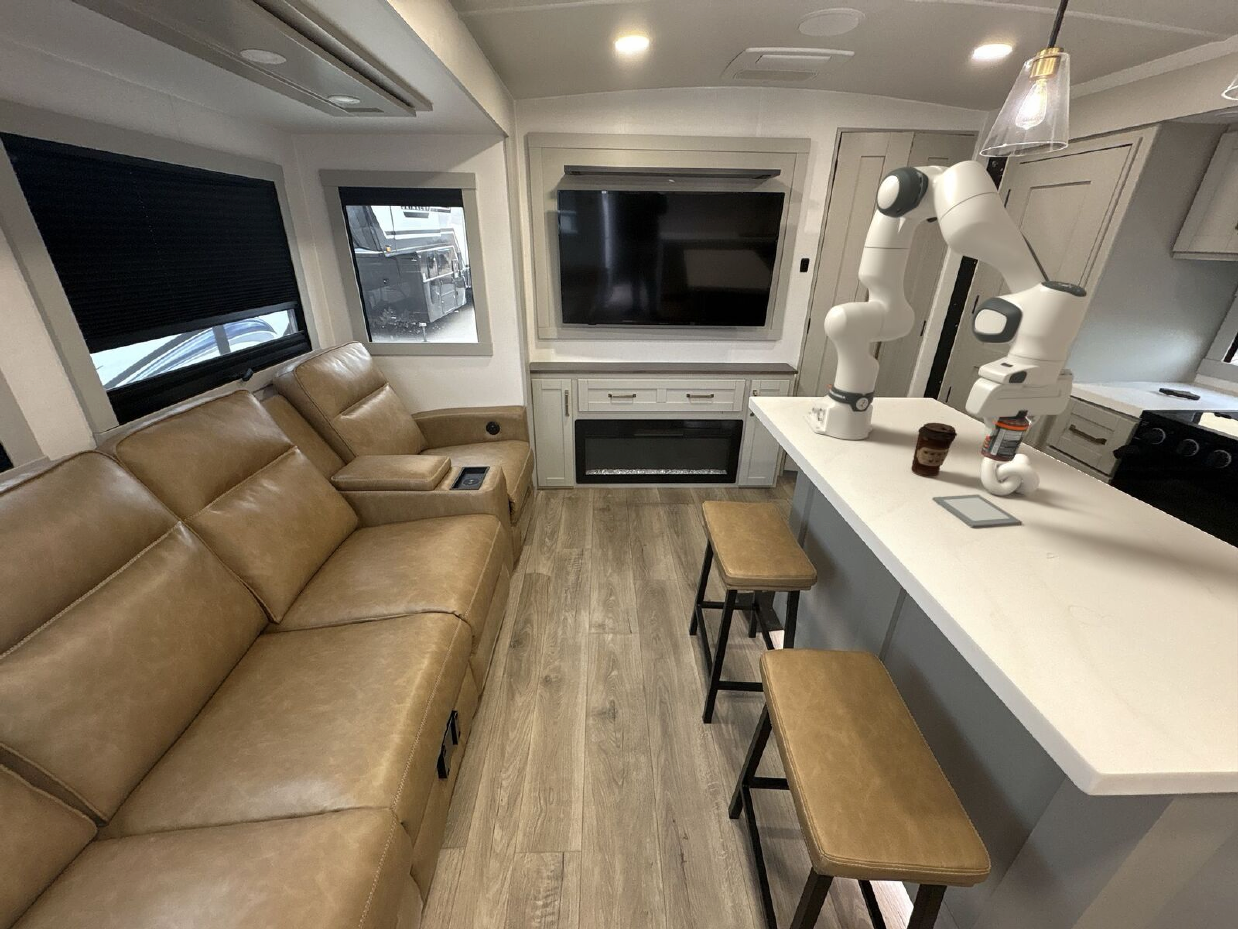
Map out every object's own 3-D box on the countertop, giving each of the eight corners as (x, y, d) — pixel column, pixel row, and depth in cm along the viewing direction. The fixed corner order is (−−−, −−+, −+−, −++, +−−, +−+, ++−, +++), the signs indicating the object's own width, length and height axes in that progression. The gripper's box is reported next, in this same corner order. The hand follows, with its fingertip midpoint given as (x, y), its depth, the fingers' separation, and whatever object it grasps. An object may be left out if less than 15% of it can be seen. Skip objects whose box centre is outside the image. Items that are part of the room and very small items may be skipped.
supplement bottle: (977, 448, 108) (996, 400, 103) (1010, 454, 105) (1031, 405, 100) (981, 459, 103) (1001, 408, 98) (1015, 465, 100) (1038, 414, 95)
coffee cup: (948, 482, 123) (965, 434, 117) (913, 478, 124) (928, 431, 118) (935, 467, 130) (951, 421, 125) (902, 463, 132) (916, 419, 126)
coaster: (932, 499, 115) (933, 497, 114) (977, 496, 116) (978, 494, 116) (971, 527, 104) (972, 525, 104) (1021, 524, 106) (1022, 521, 105)
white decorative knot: (969, 473, 127) (981, 442, 123) (1025, 484, 122) (1039, 452, 118) (973, 492, 118) (986, 459, 114) (1034, 505, 113) (1050, 471, 109)
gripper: (1061, 364, 100) (1034, 426, 106) (972, 367, 97) (950, 430, 103) (1092, 373, 94) (1062, 438, 100) (998, 375, 92) (973, 442, 98)
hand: (1004, 434), depth 102 cm, fingers closed on supplement bottle, 6 cm apart
